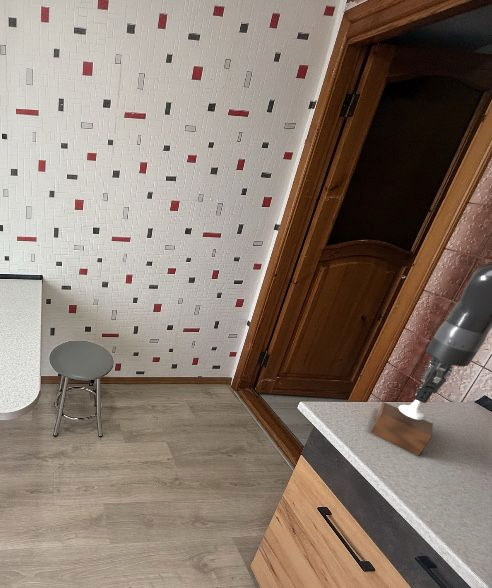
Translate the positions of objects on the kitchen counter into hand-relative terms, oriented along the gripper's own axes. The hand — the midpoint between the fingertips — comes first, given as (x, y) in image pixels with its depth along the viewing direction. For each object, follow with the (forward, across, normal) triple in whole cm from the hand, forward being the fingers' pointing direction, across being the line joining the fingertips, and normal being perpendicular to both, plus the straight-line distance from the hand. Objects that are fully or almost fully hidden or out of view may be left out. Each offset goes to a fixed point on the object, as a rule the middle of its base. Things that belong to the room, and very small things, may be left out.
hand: (420, 398), depth 86 cm
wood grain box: (+14, +4, 0) cm, 14 cm away
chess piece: (+5, 0, 0) cm, 5 cm away
